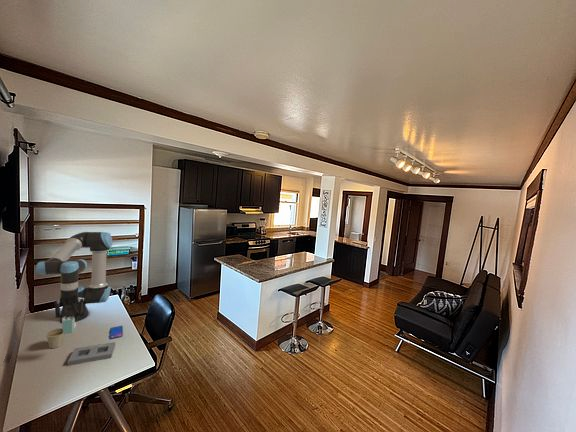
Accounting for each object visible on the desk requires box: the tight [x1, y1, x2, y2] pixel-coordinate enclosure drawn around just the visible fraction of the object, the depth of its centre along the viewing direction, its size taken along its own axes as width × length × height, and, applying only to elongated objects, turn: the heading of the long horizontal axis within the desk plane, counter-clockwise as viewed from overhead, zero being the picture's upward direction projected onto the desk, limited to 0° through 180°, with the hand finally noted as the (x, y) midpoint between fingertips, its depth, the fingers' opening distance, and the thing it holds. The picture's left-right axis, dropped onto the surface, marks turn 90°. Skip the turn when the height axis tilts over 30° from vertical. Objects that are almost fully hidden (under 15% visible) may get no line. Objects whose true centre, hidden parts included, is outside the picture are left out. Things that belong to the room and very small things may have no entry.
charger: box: [63, 317, 75, 335], centre depth 141 cm, size 4×4×9 cm
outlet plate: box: [67, 341, 116, 366], centre depth 145 cm, size 12×20×2 cm, turn 116°
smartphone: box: [109, 325, 124, 340], centre depth 168 cm, size 7×1×15 cm
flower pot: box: [45, 327, 66, 349], centre depth 150 cm, size 9×9×9 cm
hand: (69, 327), depth 142 cm, fingers closed on charger, 4 cm apart
